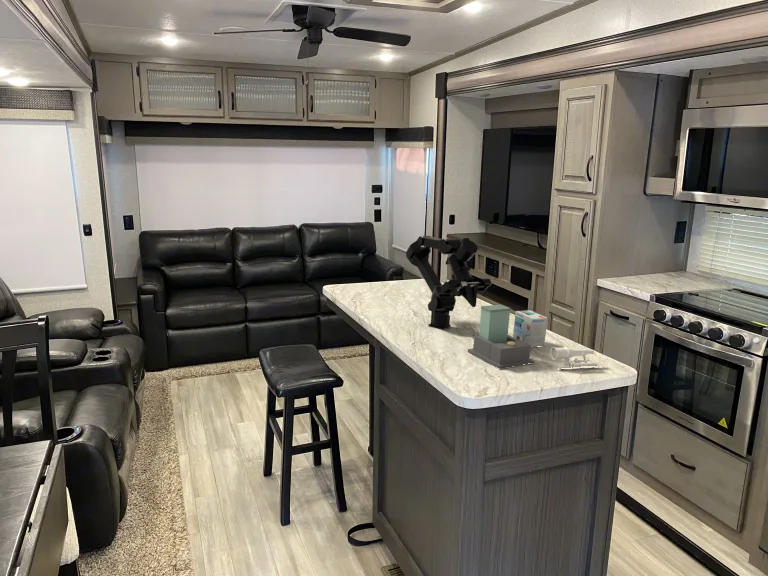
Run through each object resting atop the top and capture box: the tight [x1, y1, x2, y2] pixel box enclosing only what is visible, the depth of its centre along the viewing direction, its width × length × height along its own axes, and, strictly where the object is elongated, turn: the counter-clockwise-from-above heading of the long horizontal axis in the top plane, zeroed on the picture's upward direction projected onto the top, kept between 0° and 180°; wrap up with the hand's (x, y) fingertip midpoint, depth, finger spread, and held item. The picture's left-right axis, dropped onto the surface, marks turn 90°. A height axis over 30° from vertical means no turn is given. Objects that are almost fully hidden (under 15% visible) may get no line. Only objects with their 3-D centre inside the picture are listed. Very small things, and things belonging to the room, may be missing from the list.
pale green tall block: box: [478, 304, 511, 344], centre depth 190 cm, size 5×8×15 cm, turn 117°
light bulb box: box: [512, 309, 548, 348], centre depth 204 cm, size 11×7×11 cm, turn 21°
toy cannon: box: [549, 346, 599, 369], centre depth 182 cm, size 8×14×5 cm
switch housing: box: [467, 334, 535, 369], centre depth 187 cm, size 17×14×7 cm
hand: (474, 306), depth 199 cm, fingers closed
